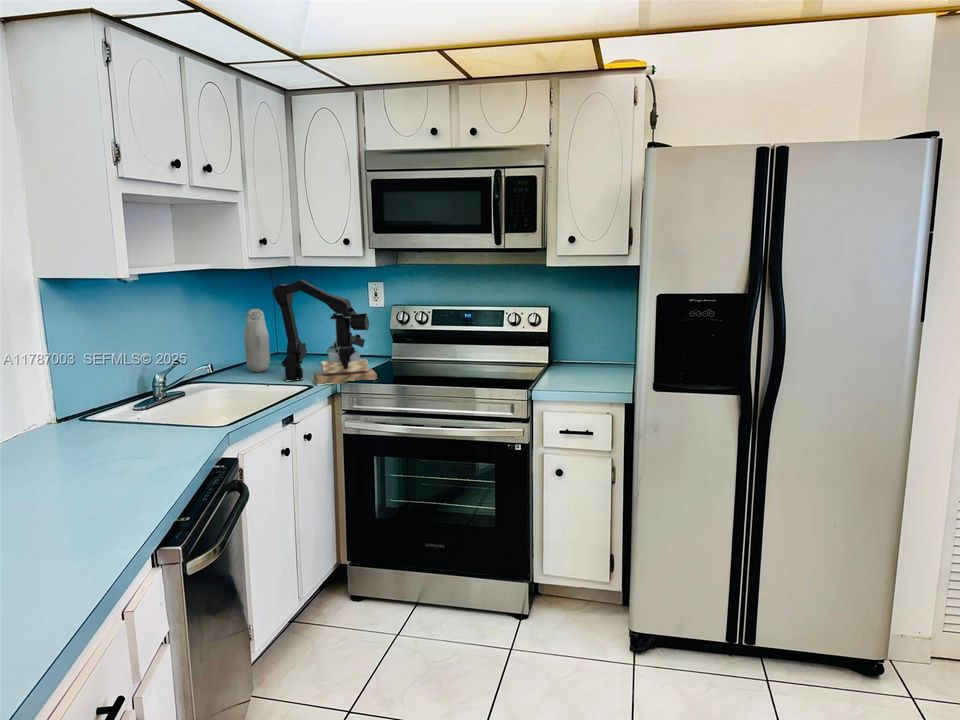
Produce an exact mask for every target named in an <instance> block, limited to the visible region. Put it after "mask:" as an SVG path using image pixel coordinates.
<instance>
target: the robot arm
mask: <svg viewBox="0 0 960 720" xmlns="http://www.w3.org/2000/svg"><path fill="white" fill-rule="evenodd" d="M300 291H301V292H303V294H307V295H308V296H310V297H312V298H314V299H316V300H318V301H320V302H322V303H324V304H325V305H327V306H328V307H329V309H331V310H332V311H333V312H334V313H333V314H332V315H331V316H330V320H335V332H334V333H335V336H336V338H335V339H336V340H334V342H333V343H332V344H333V345H332V346H334V348H336V347H337V349H335V351H336V352H338V355H339V357H340V360H341V362H342V365H343V367H344V369H347V367H348V362H349V358H350V356H351V355H352V354H353V353H355V351H356V349H355V347H354V345H355V346H357V347H360V348H364V346H365V342H366V339H364V338H362V337H361V334H358V333H356V334H355V335H353V333H352V332H351V329H352V330H353V331H368V330H369V329H370V320H369V317H368V313H365V312H363V313H357V312H356V311H355V309H354V308H353V306H352V304H351V301H350V299H348V298H345V297H341V296H337V295H333V294H331V293H329V292H327V291H325V290H323V289H322V288H319V287H318V286H315V285H313V284H312V283H310V282H308V281H307V280H305V279H300V280H296V281H295V282H292V283H288V284H287V283H283V284H278V285H276V286H275V287H273V289H272V293H273V296H274V299H275V302H276V303H277V305H278V306H279V308H280V311H281V317H282V321H283V326H284V330H285V331H284V332H285V334H286V339H287V343H286V344H287V345H286V356H285V358H284V359H283V360H282V361H281V365H282V367H283V368H284V380H285V379H286V380H297V379H301V378H302V379H303V378H304V375H303V374H304V371H303V368H302V366H301V364H302V363H303V361H304V359H306V356H307V352H308V350H307V348H306V342H302V341H301V340H300V337H299V333H298V331H299V330H298V327H297V323H296V318H295V314H294V309H293V301H294V294H295V293H298V292H300Z"/></svg>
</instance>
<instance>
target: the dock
mask: <svg viewBox="0 0 960 720" xmlns="http://www.w3.org/2000/svg"><path fill="white" fill-rule="evenodd" d="M313 379H314V380H315V381H316V383H317V384H325V383H333V384H334V386H335V385H343V384H342V383H343V382H347V381H355V380H376V379H377V380H378V374H377V373H376V371H374V370H373V369H372V368H371V369H369V368H368V370H366V371H352V372H338V373H323V372H319V373H318V372H316V373H313ZM315 381H314V382H315ZM316 383H315V384H316Z"/></svg>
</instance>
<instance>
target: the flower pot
mask: <svg viewBox="0 0 960 720" xmlns="http://www.w3.org/2000/svg"><path fill="white" fill-rule="evenodd" d="M335 349H337V347H336V348H334V345H330V346H329V347H327V348H326V353H327V358H328V360H329V355H328V353H333V352H336V351H335Z"/></svg>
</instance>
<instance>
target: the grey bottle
mask: <svg viewBox="0 0 960 720" xmlns="http://www.w3.org/2000/svg"><path fill="white" fill-rule="evenodd" d="M243 333H244V336H243V337H244V338H243V341H244V351H245V352H244V353H245V362H246V366H247V368H248V369H249V370H250V371H252V372H254V373H262V372H261V371H263V372H264V371H266V370H267V369H268V368H269V366H270V364H271V352H270V336H269V331H268V328H267V324H266V319H265V314H264V311H263V310H261V309H260V308H250V309H249V310H247V311H246V315H245V328H244V332H243Z"/></svg>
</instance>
